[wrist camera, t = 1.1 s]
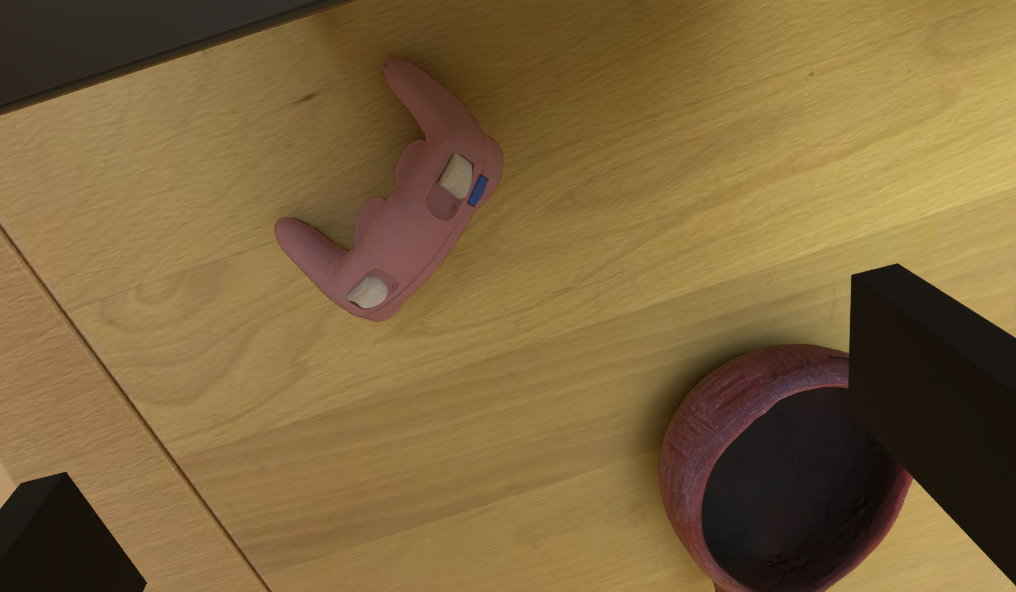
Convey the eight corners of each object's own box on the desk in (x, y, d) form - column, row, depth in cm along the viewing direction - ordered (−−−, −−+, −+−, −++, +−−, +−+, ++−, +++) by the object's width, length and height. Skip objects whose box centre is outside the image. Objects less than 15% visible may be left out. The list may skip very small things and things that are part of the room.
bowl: (605, 369, 34) (651, 473, 27) (837, 276, 33) (947, 359, 26) (683, 557, 42) (734, 678, 35) (875, 486, 41) (969, 595, 34)
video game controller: (346, 259, 32) (394, 358, 27) (261, 227, 28) (299, 334, 24) (468, 93, 29) (543, 174, 24) (388, 37, 26) (458, 119, 21)
